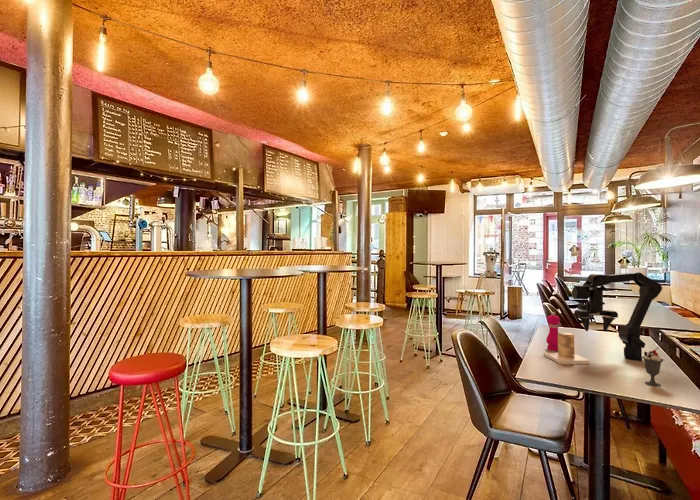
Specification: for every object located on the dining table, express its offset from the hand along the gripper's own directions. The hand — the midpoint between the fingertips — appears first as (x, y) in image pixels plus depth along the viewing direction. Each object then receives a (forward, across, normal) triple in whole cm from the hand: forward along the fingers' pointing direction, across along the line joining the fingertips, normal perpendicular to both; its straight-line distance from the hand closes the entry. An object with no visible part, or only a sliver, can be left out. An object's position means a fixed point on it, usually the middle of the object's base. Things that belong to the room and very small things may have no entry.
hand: (595, 331), depth 182 cm
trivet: (+13, +16, +2) cm, 21 cm away
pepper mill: (+14, +11, -16) cm, 24 cm away
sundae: (+13, +4, +37) cm, 39 cm away
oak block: (+12, +16, +2) cm, 20 cm away
